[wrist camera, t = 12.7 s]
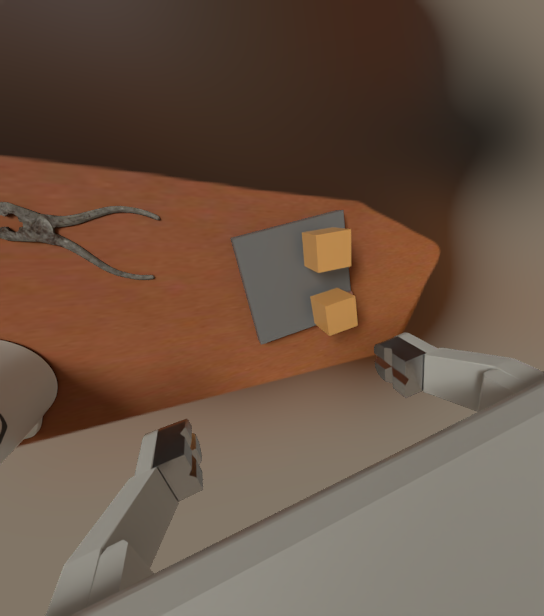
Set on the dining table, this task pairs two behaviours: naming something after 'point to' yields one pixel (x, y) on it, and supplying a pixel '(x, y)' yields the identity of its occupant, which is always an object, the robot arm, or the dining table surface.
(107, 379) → the dining table surface
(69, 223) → the pliers
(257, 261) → the board
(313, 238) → the tan wooden toy brick
